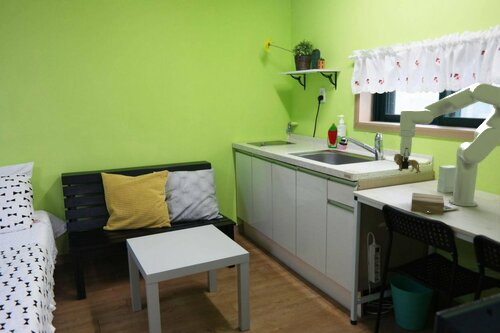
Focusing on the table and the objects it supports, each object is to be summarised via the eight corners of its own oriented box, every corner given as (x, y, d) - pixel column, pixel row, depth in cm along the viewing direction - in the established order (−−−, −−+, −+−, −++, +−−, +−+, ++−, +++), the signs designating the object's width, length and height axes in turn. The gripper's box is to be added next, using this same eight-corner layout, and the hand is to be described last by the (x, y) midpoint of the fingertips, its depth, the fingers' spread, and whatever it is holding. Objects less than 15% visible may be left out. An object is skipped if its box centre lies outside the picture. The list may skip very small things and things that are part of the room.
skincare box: (448, 189, 226) (451, 164, 223) (456, 192, 220) (459, 166, 217) (436, 190, 224) (438, 165, 221) (443, 193, 219) (446, 167, 216)
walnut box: (411, 203, 199) (412, 192, 198) (441, 207, 194) (443, 195, 193) (410, 211, 187) (411, 199, 186) (442, 215, 181) (444, 203, 180)
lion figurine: (393, 170, 202) (396, 153, 201) (390, 168, 208) (393, 152, 206) (422, 174, 201) (425, 157, 199) (418, 172, 206) (422, 155, 205)
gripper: (398, 131, 209) (396, 164, 213) (400, 135, 194) (397, 171, 197) (413, 132, 207) (411, 165, 211) (416, 135, 191) (413, 171, 195)
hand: (404, 167), depth 204 cm, fingers closed on lion figurine, 4 cm apart
